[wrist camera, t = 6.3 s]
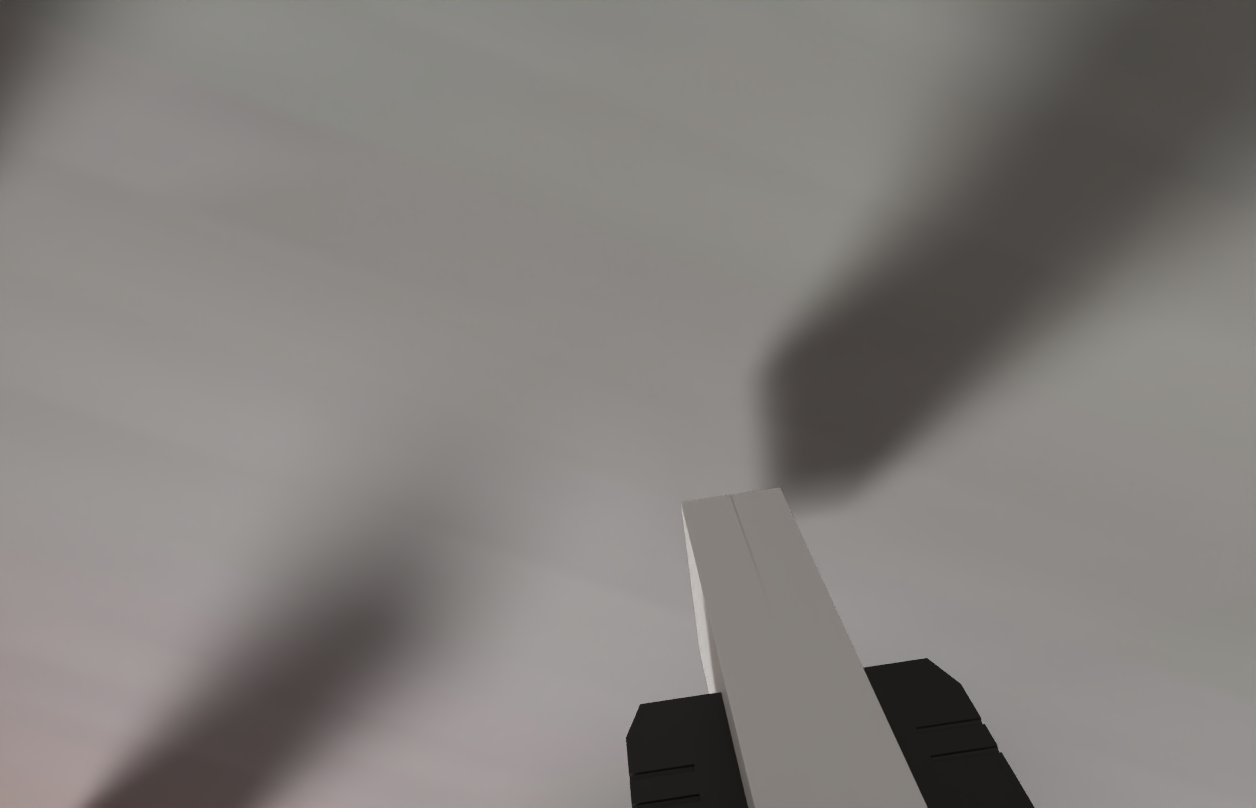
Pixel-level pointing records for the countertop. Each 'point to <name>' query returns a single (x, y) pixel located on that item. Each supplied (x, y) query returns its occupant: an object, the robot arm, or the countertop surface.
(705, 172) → the countertop surface
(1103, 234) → the countertop surface
